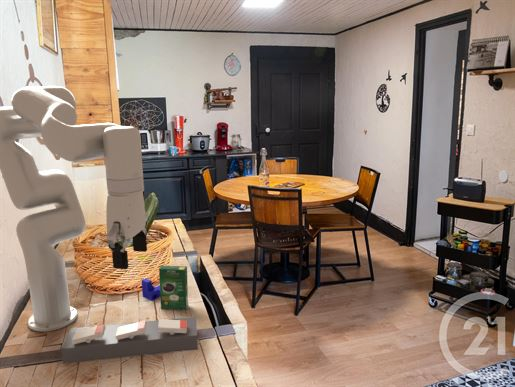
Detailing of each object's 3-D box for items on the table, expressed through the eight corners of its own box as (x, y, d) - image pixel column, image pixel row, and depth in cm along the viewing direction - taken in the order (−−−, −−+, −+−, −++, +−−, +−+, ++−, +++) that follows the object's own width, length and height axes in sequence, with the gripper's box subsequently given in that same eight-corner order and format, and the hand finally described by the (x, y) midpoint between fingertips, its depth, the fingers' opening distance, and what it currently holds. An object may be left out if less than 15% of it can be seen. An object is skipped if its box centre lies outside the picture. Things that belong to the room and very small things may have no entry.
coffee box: (189, 305, 130) (187, 265, 127) (187, 310, 127) (185, 269, 124) (163, 304, 130) (160, 264, 127) (160, 309, 128) (157, 268, 124)
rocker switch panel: (72, 342, 112) (70, 327, 111) (196, 330, 117) (196, 315, 116) (63, 363, 103) (60, 347, 102) (197, 349, 108) (197, 334, 107)
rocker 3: (158, 325, 110) (159, 318, 110) (185, 326, 111) (186, 320, 111) (157, 333, 106) (158, 326, 106) (185, 335, 107) (186, 328, 107)
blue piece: (151, 301, 133) (150, 283, 132) (142, 297, 136) (141, 279, 134) (181, 287, 142) (180, 270, 141) (172, 283, 145) (171, 267, 143)
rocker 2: (119, 333, 109) (117, 326, 108) (147, 326, 110) (145, 319, 109) (117, 342, 105) (115, 335, 104) (146, 335, 106) (144, 328, 105)
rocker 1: (77, 337, 107) (75, 330, 107) (106, 330, 108) (104, 323, 107) (74, 346, 103) (71, 339, 103) (103, 339, 104) (101, 332, 104)
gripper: (127, 175, 101) (132, 244, 105) (87, 194, 85) (95, 274, 89) (157, 177, 100) (161, 246, 104) (123, 195, 83) (129, 277, 88)
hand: (131, 259), depth 97 cm, fingers open, 9 cm apart
